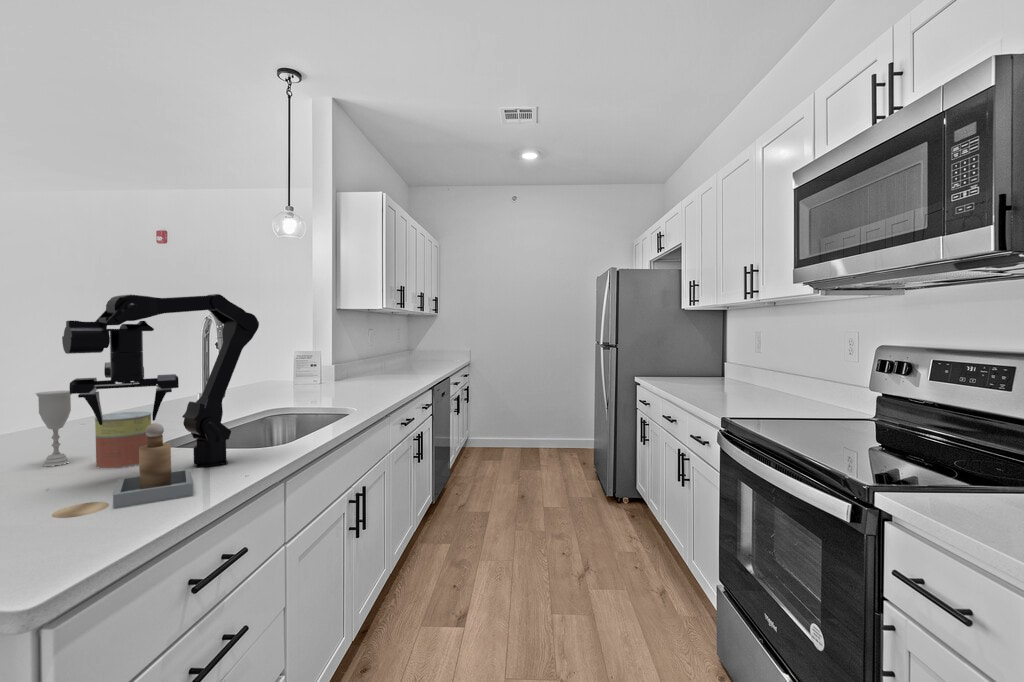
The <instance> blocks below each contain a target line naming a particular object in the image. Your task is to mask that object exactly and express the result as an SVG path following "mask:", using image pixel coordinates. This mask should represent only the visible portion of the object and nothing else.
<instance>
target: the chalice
mask: <svg viewBox="0 0 1024 682" xmlns="http://www.w3.org/2000/svg"><path fill="white" fill-rule="evenodd" d="M35 395H36V396H37V398H38V400H37V401H38V414H39V416H40V418H41V420H42V422H43V423H44V424H45V426H46V428H47V429H49V430H52V433H53V434H52V437H51V439H52V440H53V442H52V444H51V447H52V448H53V452H52V454H50V455H47V457H46V459H45V461H44V463H43V465H42V467H43V466H53V465H60V464H64V463H67V462H70V460H69V458H68V457H67V454H65V453H62V452H61V451H60V450H59V448H60V446H61V443H60V441H59V439H60V438H61V436H60V435H59V430H60V429H62V428H64V426H65V424H66V422H67V420H68V419H69V417H70V414H71V412H72V406H71V405H72V403H71V395H72V394H70V390H52V391H51V390H50V391H40V392H35ZM60 466H61V465H60ZM53 467H54V466H53Z"/></svg>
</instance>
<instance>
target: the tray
mask: <svg viewBox="0 0 1024 682" xmlns="http://www.w3.org/2000/svg"><path fill="white" fill-rule="evenodd" d="M193 487H194V483H193V477H192V470H191V468H186V469H185V468H184V469H179V470H178V469H177V470H171V485H167V486H161V487H154V488H147V489H140V475H134V476H125V477H118V479H117V483H116V485H115V488H114V491H113V494H112V504H113V505H112V507H113V510H114V509H119V508H125V507H126V508H127V507H132V506H138V505H145V504H149V503H150V504H151V503H157V502H161V501H162V502H164V501H168V500H169V501H170V500H174V499H181V498H186V497H187V498H189V497H193V496H194V490H193V489H194V488H193Z"/></svg>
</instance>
